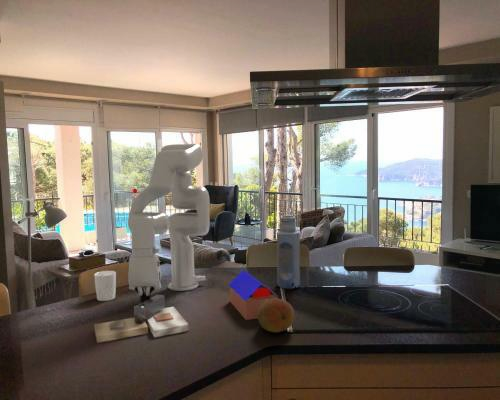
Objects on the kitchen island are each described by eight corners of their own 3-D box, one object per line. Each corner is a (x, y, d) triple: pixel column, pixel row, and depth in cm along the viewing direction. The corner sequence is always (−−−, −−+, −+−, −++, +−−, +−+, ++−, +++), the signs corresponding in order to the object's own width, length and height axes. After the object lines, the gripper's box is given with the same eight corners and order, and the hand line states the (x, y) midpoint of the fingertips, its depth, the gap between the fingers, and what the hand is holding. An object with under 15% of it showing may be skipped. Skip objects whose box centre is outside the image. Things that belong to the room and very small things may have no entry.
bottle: (274, 287, 163) (273, 216, 161) (281, 281, 172) (280, 213, 170) (296, 289, 159) (295, 216, 157) (302, 283, 169) (301, 213, 166)
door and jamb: (173, 312, 136) (173, 305, 136) (188, 330, 120) (188, 322, 120) (93, 326, 125) (93, 318, 125) (98, 348, 109) (97, 339, 109)
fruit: (266, 341, 111) (265, 307, 111) (249, 326, 123) (248, 295, 122) (301, 334, 116) (301, 301, 115) (281, 319, 128) (281, 289, 127)
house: (259, 298, 150) (258, 268, 150) (279, 316, 131) (278, 282, 131) (229, 302, 147) (228, 271, 146) (245, 321, 128) (244, 286, 127)
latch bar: (141, 323, 121) (140, 308, 120) (132, 322, 122) (131, 307, 121) (165, 308, 133) (164, 295, 133) (157, 307, 134) (156, 294, 134)
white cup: (91, 300, 152) (89, 274, 151) (107, 294, 159) (105, 269, 158) (105, 302, 148) (104, 276, 147) (121, 296, 155) (120, 271, 154)
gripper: (168, 249, 134) (170, 302, 135) (125, 250, 134) (127, 302, 136) (163, 254, 126) (164, 309, 128) (117, 254, 127) (119, 310, 128)
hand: (145, 305), depth 132 cm, fingers closed
